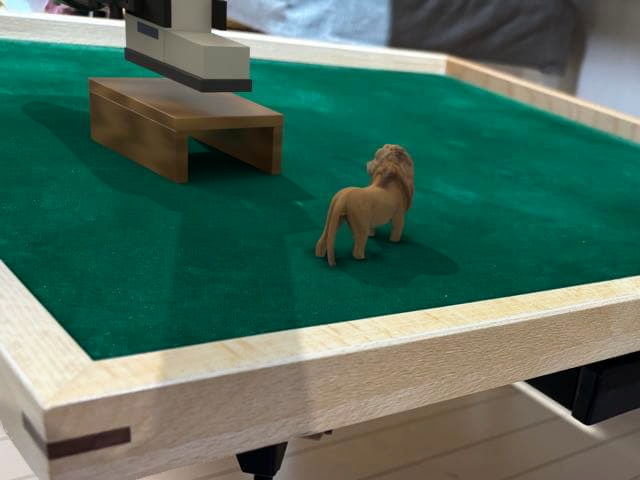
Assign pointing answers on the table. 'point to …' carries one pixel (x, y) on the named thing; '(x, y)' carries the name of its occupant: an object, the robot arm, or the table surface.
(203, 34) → the grey stepped block
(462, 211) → the table surface
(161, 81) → the low wooden table
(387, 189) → the lion figurine
